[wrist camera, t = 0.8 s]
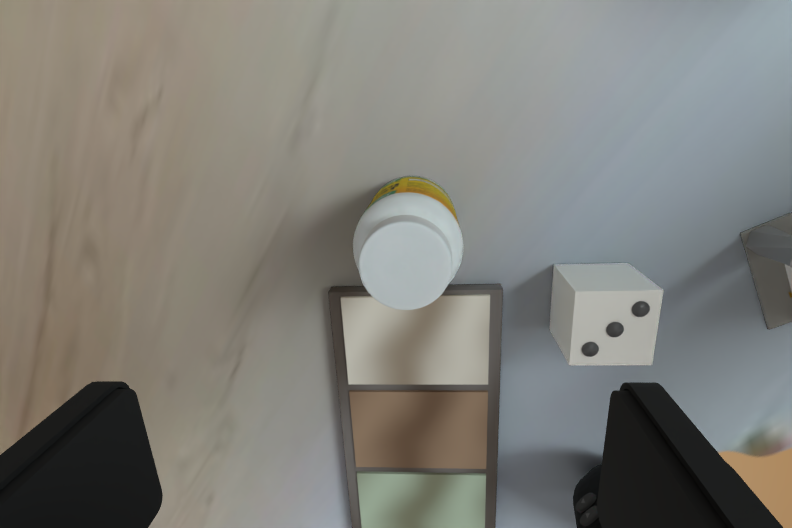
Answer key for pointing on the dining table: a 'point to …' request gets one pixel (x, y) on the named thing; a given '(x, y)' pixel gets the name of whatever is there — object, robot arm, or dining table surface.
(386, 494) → the game strip
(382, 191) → the supplement bottle
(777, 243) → the skyscraper
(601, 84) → the dining table surface
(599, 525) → the controller
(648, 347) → the die
